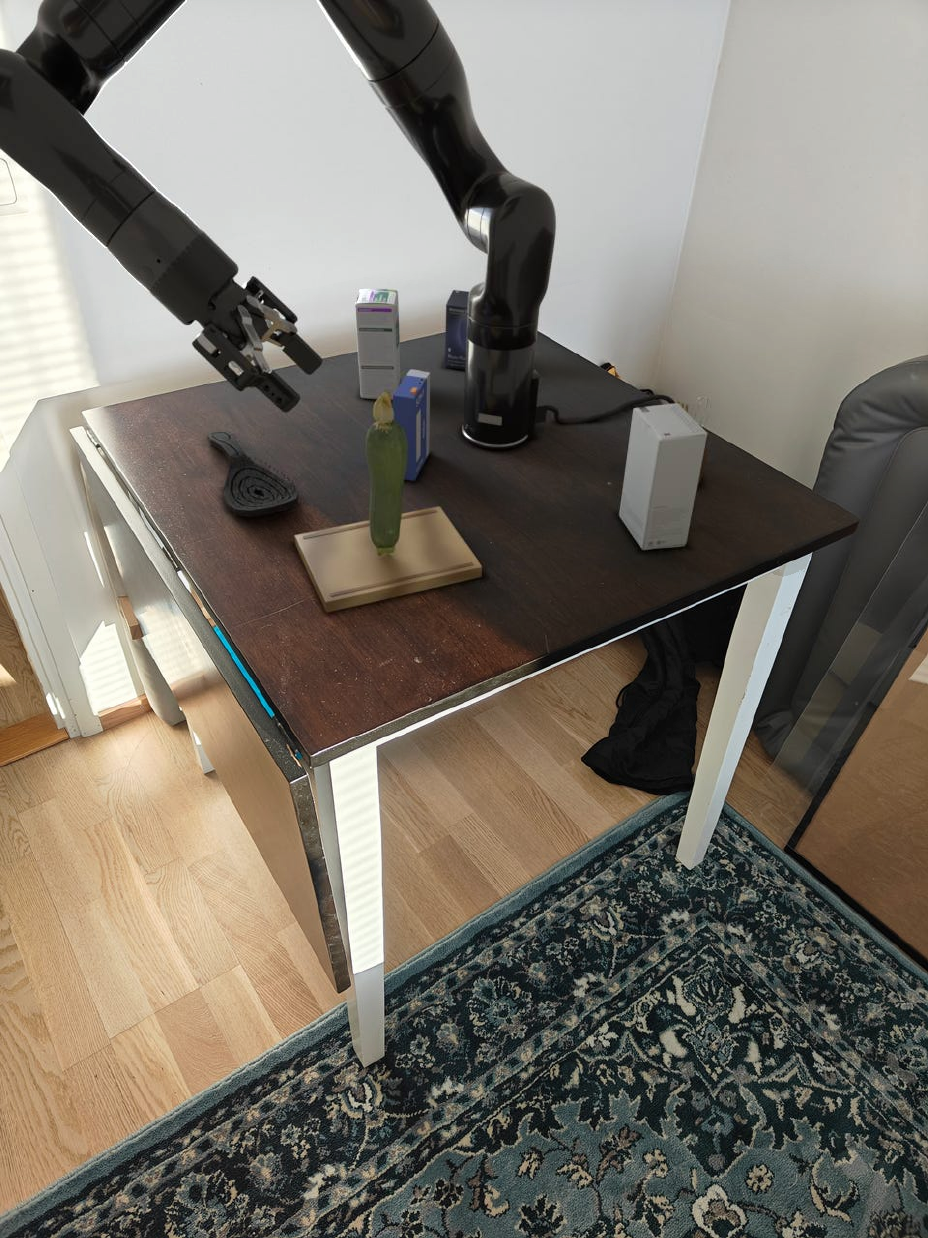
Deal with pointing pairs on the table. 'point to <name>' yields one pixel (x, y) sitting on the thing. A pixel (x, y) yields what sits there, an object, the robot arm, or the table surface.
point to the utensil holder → (706, 438)
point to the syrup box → (378, 342)
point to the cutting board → (385, 560)
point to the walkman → (414, 418)
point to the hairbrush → (251, 481)
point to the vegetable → (386, 475)
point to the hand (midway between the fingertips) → (305, 386)
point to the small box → (456, 330)
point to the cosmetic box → (661, 475)
